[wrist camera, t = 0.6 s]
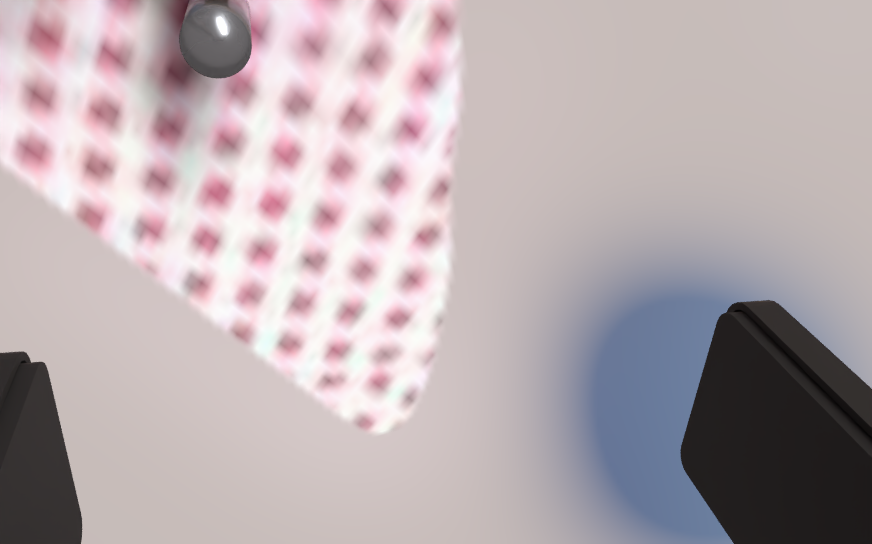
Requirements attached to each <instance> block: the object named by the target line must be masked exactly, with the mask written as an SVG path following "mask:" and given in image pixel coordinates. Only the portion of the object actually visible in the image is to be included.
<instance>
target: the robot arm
mask: <svg viewBox="0 0 872 544" xmlns="http://www.w3.org/2000/svg"><path fill="white" fill-rule="evenodd" d="M681 461H682V465H683V468H684V470H685V472H686V473H687V475H688V476H689V478H690V479H691V481H692V482H693V484H694V485H695V487H696V488H697V490H698V491H699V493H700V494H701V496H702V497H703V498H704V500H705V501H706V503H707V504H708V506H709V507H710V509H711V510H712V512H713V513H714V515H715V516H716V518H717V519H718V521H719V522H720V524H721V525H722V527H723V528H724V530H725V531H726V533H727V534H728V536H729V537H730V538H731V540H732V542H733V543H734V544H872V389H871V388H870V387H869V386H868V385H867V384H866V383H865V382H864V381H862V380H861V379H860V378H859V377H858V376H857V375H856V374H855V373H854V372H852V371H851V369H849V368H848V367H847V366H846V365H845V364H844V363H843V362H842V361H841V360H840V359H838V358H837V357H836V356H835V355H834V354H833V353H832V352H831V351H830V350H829V349H828V348H826V347H825V346H824V345H823V344H822V343H821V342H820V341H819V340H818V339H816V338H815V337H814V336H813V335H812V334H811V333H810V332H809V331H808V330H807V329H806V328H805V327H803V326H802V325H801V324H800V323H799V322H798V321H797V320H796V319H795V318H793V317H792V316H791V315H790V314H789V313H788V312H787V311H786V310H785V309H784V308H783V307H781V306H780V305H779V304H778V303H776V302H775V301H770V300H766V301H751V302H737V303H734V304H732V305H731V306H730V307H729V308H728V311H727V313H724V314H722V315H721V316H720V317H719V319H718V321H717V324H716V328H715V331H714V335H713V338H712V342H711V345H710V348H709V352H708V356H707V359H706V363H705V366H704V369H703V373H702V377H701V380H700V383H699V387H698V390H697V393H696V397H695V400H694V404H693V408H692V411H691V414H690V418H689V421H688V425H687V428H686V432H685V435H684V439H683V442H682V445H681ZM81 539H82V517H81V512H80V508H79V504H78V499H77V495H76V490H75V486H74V482H73V478H72V473H71V468H70V464H69V460H68V456H67V452H66V447H65V442H64V438H63V434H62V429H61V425H60V421H59V417H58V412H57V408H56V404H55V399H54V395H53V391H52V386H51V382H50V378H49V374H48V370H47V367H46V365H45V363H43V362H33V363H31V361H30V358H29V356H28V355H27V353H25V352H9V353H0V544H81Z"/></svg>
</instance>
